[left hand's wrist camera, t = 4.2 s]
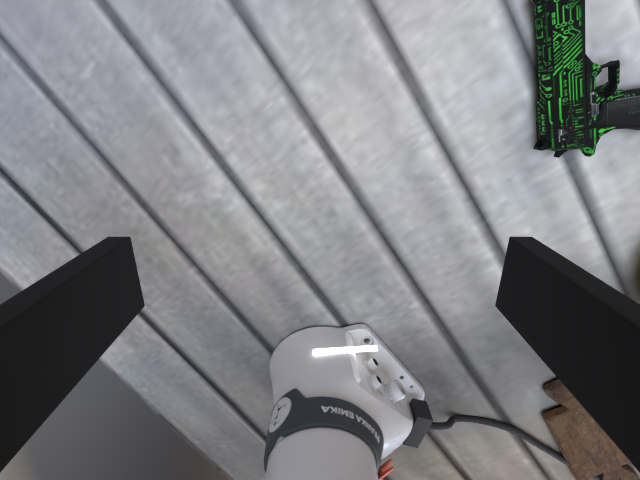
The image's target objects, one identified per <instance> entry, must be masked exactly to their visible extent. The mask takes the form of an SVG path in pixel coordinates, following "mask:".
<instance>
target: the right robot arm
mask: <svg viewBox="0 0 640 480" xmlns="http://www.w3.org/2000/svg"><path fill="white" fill-rule="evenodd" d="M365 338H369V339H368V340H364V339H365ZM269 369H270V376H271V381H272V388H273V411H272V414H271V418H270V422H269V427H268V433H267V440H266V447H265V456H264V468H265V472H266V477H265V480H381V479H382V478H384V477H385V476H386V475H387V474H389V473H390V472H391V471H392V470H393V469H394V467H391V468H389V466H390V465H391V463H392V462H393V460H392V459H390V460H388V461H387V462H386V463H384V464H383V465H382V466H380V462H381V460H382V459H383V458H385V457H386V456H388V455H389V454H390V453H392V452H393V451H394V450H395V449H397V448H398V447H399V446H400V445H401V444H402V443H403V445H408V446H412V447H416V448H418V446H419V445H420V443H421V441H422V439H423V438H424V436H425V434H426V432H427V430H428V429H434V430H443V429H448V428H451V427H452V426H453V424H454V423H455V422H473V423H480V424H485V425H489V426H493V427H497V428H500V429H503V430H506V431H509V432H511V433H514V434H516V435H518V436H520V437H522V438H523V439H525V440H526V441H528V442H529V443H531V444H533V445H534V446H536V447H537V448H539V449H541V450H542V451H544V452H546V453H548V454H549V455H551V456H553V457H554V458H556V459H558V460H559V461H561V462H563V463H564V464H566V465H568V464H567V462H566V460H565V459H564V457H563V456H562V455H560V454H559V453H557V452H555V451H554V450H552V449H551V448H549V447H547V446H545V445H544V444H542V443H540V442H539V441H537V440H535V439H534V438H532V437H531V436H529V435H528V434H526V433H525V432H523V431H521V430H519V429H517V428H515V427H513V426H510V425H508V424H505V423H502V422H498V421H495V420H491V419H487V418H482V417H476V416H467V415H456V416H451V417H450V418H449V419H448V421H446V422H442V423H437V422H433V419H432V416H431V413H430V410H429V407H428V405H427V402H426V401H423V400H424V396H425V393H424V389H423V387H422V386H421V385H420V383H419V382H418V381H417V380H416V379H415V378H414V377H413V376H412V374H411V373H410V372H409V371H408V370H407V369H406V368H405V367H404V366H403V364H402V363H401V362H400V361H399V360H398V359H397V358H396V357H395V355H394V354H393V353H392V352H391V351H390V350H389V349H388V348H387V347H386V345H385V344H384V343H383V342H382V341H381V340H380V339H379V338H378V336H377V335H376V334H375V333H374V332H373V331H372V330H371V329H370V328H369V327H368V326H367V325H365V324H355V325H351V326H347V327H343V328H335V327H311V328H306V329H303V330H300V331H297V332H295V333H293V334H291V335H290V336H288V337H287V338H285V339H284V340H283V341H282V342H281V343H280V344H279V345H278V346H277V348H276V349H275V351H274V352H273V354H272V357H271V360H270V368H269ZM379 466H380V467H379ZM388 468H389V469H388ZM594 479H596V480H601V479H600V476H599V475H597V476H594Z"/></svg>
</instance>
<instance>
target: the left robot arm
mask: <svg viewBox="0 0 640 480" xmlns="http://www.w3.org/2000/svg"><path fill="white" fill-rule="evenodd" d="M144 306H145V305H144V300H143V295H142V291H141V286H140V281H139V276H138V271H137V267H136V262H135V257H134V252H133V247H132V243H131V238H130V237H107V238H106V239H104V240H102V241H101V242H99V243H98V244H96V245H94V246H93V247H91V248H90V249H88V250H86V251H85V252H83V253H82V254H80V255H79V256H77V257H75V258H74V259H72V260H71V261H69V262H67V263H66V264H64V265H63V266H61V267H59V268H58V269H56V270H55V271H53V272H52V273H50V274H48V275H47V276H45V277H44V278H42V279H40V280H39V281H37V282H36V283H34V284H32V285H31V286H29V287H28V288H26V289H25V290H23V291H21V292H20V293H18V294H17V295H15V296H13V297H12V298H10V299H9V300H7V301H5V302H4V303H2V304H1V305H0V472H1V471H2V470H3V469H4V467H5V466H6V465H7V464H8V463H9V462H10V461H11V459H12V458H13V457H14V456H15V455H16V454H17V452H18V451H19V450H20V449H21V448H22V447H23V445H24V444H25V443H26V442H27V441H28V440H29V439H30V437H31V436H32V435H33V434H34V433H35V432H36V431H37V429H38V428H39V427H40V426H41V425H42V424H43V422H44V421H45V420H46V419H47V418H48V417H49V416H50V414H51V413H52V412H53V411H54V410H55V409H56V407H57V406H58V405H59V404H60V403H61V402H62V401H63V399H64V398H65V397H66V396H67V395H68V394H69V392H70V391H71V390H72V389H73V388H74V387H75V386H76V384H77V383H78V382H79V381H80V380H81V379H82V377H83V376H84V375H85V374H86V373H87V372H88V371H89V369H90V368H91V367H92V366H93V365H94V364H95V362H96V361H97V360H98V359H99V358H100V357H101V356H102V354H103V353H104V352H105V351H106V350H107V349H108V347H109V346H110V345H111V344H112V343H113V342H114V341H115V339H116V338H117V337H118V336H119V335H120V334H121V333H122V331H123V330H124V329H125V328H126V327H127V326H128V324H129V323H130V322H131V321H132V320H133V319H134V318H135V316H136V315H137V314H138V313H139V312H140V311H141V309H142V308H143V307H144ZM495 306H496V307H497V308H498V309H499V311H500V312H501V313H502V314H503V315H504V316H505V318H506V319H507V320H508V321H509V322H510V323H511V324H512V326H513V327H514V328H515V329H516V330H517V331H518V333H519V334H520V335H521V336H522V337H523V338H524V339H525V341H526V342H527V343H528V344H529V345H530V346H531V347H532V349H533V350H534V351H535V352H536V353H537V354H538V356H539V357H540V358H541V359H542V360H543V361H544V362H545V364H546V365H547V366H548V367H549V368H550V369H551V371H552V372H553V373H554V374H555V375H556V376H557V377H558V379H559V380H560V381H561V382H562V383H563V384H564V386H565V387H566V388H567V389H568V390H569V391H570V392H571V394H572V395H573V396H574V397H575V398H576V399H577V401H578V402H579V403H580V404H581V405H582V406H583V407H584V409H585V410H586V411H587V412H588V413H589V414H590V416H591V417H592V418H593V419H594V420H595V421H596V422H597V424H598V425H599V426H600V427H601V428H602V429H603V431H604V432H605V433H606V434H607V435H608V436H609V437H610V439H611V440H612V441H613V442H614V443H615V444H616V446H617V447H618V448H619V449H620V450H621V451H622V452H623V454H624V455H625V456H626V457H627V458H628V459H629V461H630V462H631V463H632V464H633V465H634V466H635V467H636V469H637V470H638V471H639V472H640V305H639V304H638V303H636V302H635V301H633V300H631V299H630V298H628V297H627V296H625V295H623V294H622V293H620V292H619V291H617V290H615V289H614V288H612V287H611V286H609V285H608V284H606V283H604V282H603V281H601V280H600V279H598V278H596V277H595V276H593V275H592V274H590V273H588V272H587V271H585V270H584V269H582V268H581V267H579V266H577V265H576V264H574V263H573V262H571V261H569V260H568V259H566V258H565V257H563V256H561V255H560V254H558V253H557V252H555V251H554V250H552V249H550V248H549V247H547V246H546V245H544V244H542V243H541V242H539V241H538V240H536V239H534V238H533V237H510V238H509V243H508V247H507V252H506V257H505V262H504V267H503V271H502V276H501V281H500V286H499V291H498V295H497V300H496V305H495Z"/></svg>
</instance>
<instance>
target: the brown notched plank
mask: <svg viewBox="0 0 640 480" xmlns="http://www.w3.org/2000/svg"><path fill="white" fill-rule="evenodd" d="M544 391H545V393H546V394H547V395H548V396H549V397H551V398H552V399H553V400H554V401H556V402H557V403H559V404H561V405H563V406H561V407H559V408H555V409H553V410H550V411H548V412H545V413H543V414H542V416H543V418H544V420H545V422H546V424H547V426H548V428H549V429H550V431H551V433H552V434H553V436H554V438H555V440H556V442H557V444H558V446H559V448H560V450H561V453H562V455H563V457H564V459H565V460H566V462H567V464H568V467H569V469H570V471H571V473H572V474H573V476H574V478H575V479H576V480H592V479H594V476H597V475H599V476H600V479H601V480H639V477H638V475H637V474H636V472H635V471H634V470H632V469H631V468H629V467H626V466H625V465H626V464H630V463H631V462H630V461H629V459H628V458H627V457H626V456H625V455H624V454H623V452H622V451H621V450H620V449H619V448H618V447H617V446H616V444H615V443H614V442H613V441H612V440H611V439H610V437H609V436H608V435H607V434H606V433H605V432H604V431H603V429H602V428H601V427H600V426H599V425H598V424H597V422H596V421H595V420H594V419H593V418H592V417H591V416H590V414H589V413H588V412H587V411H586V410H585V409H584V407H583V406H582V405H581V404H580V403H579V402H578V401H577V399H576V398H575V397H574V396H573V395H572V394H571V392H570V391H569V390H568V389H567V388H566V387H565V386H564V384H563V383H562V382H561V381H560V380H559V379H558V380H554V381H552V382H551V383H547V384H545V385H544ZM623 464H624V465H623Z"/></svg>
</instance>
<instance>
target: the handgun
mask: <svg viewBox="0 0 640 480" xmlns="http://www.w3.org/2000/svg"><path fill="white" fill-rule="evenodd" d="M529 1H530V3H531V4H532V5H533V7H534V17H535V30H536V47H537V65H538V80H539V94H540V100H538V101H536V108H537V120H538V121H537V122H536V124H537V138H538V142H537V143H536V144H535V146H534V149H538V150H545V149H547V150H552V151H555V154H554V157H558V158H559V157H560V156H561V155H562V154H563V153H564V152H566V151H568V150H570V149H580V150H581V151H582V153H583V154H584V155H585V156H592V155H593V154H594V153H595V148H596V144H597V143H598V141H599V139H600V137H601V136H602V135H603V134H605V133H607V132H609V131H611V130H613V129H635V130H640V88H638V89H632V90H627V91H622V90H616V89H617V87H618V84H619V73H620V62H619V60H617V61H611V62H608V63H606V64H604V65H597V64H594V63H593V62H592V61H591V60H590V59H589V58H588V57H587V55H586V54H585V0H529ZM605 67H608V82H607V83H605V84H604V85H601V86H598V87H596V84H595V77H596V76H597V75H598V74H599V73H600V72H601V69H602V68H605ZM602 90H604V91H602ZM597 92H598V93H597Z"/></svg>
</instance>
